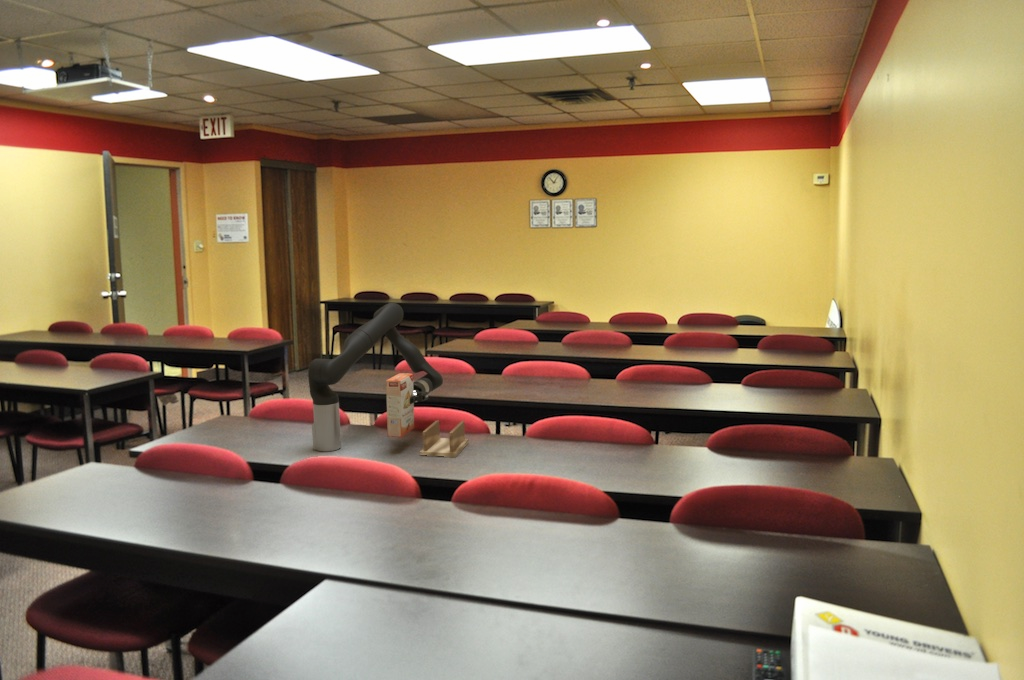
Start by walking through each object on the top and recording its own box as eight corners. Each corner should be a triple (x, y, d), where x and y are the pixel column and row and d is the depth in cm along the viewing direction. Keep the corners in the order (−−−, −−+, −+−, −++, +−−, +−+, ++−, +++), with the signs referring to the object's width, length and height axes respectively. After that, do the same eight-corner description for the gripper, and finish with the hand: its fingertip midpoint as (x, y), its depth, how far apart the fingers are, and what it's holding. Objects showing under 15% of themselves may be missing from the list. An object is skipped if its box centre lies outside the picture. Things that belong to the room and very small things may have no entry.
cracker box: (403, 438, 275) (400, 380, 272) (386, 437, 276) (384, 380, 273) (415, 427, 288) (413, 372, 285) (400, 427, 290) (398, 372, 287)
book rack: (419, 455, 273) (418, 432, 271) (434, 441, 290) (434, 419, 289) (455, 457, 270) (454, 433, 269) (468, 442, 288) (467, 420, 286)
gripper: (398, 380, 299) (383, 390, 283) (434, 381, 296) (420, 391, 280) (399, 399, 300) (383, 410, 284) (435, 401, 297) (421, 411, 281)
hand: (402, 400), depth 282 cm, fingers closed on cracker box, 6 cm apart
